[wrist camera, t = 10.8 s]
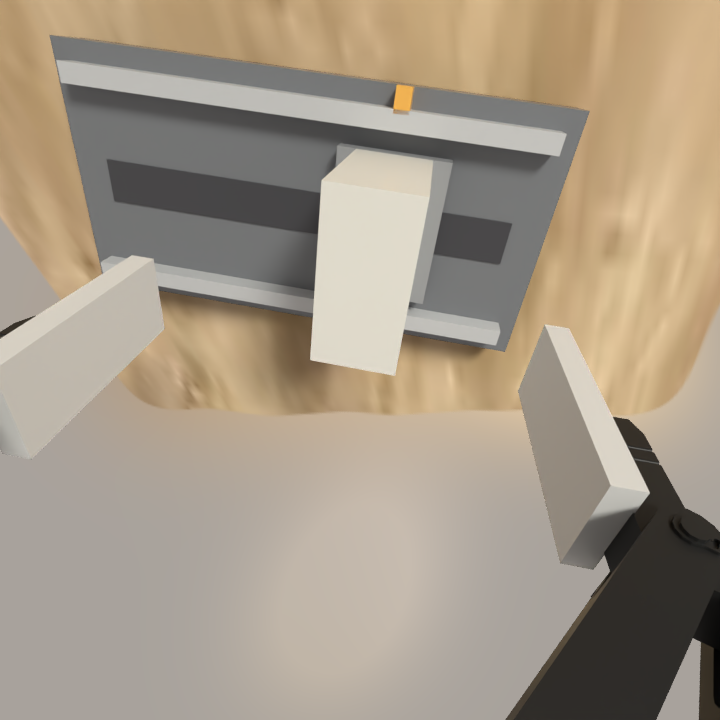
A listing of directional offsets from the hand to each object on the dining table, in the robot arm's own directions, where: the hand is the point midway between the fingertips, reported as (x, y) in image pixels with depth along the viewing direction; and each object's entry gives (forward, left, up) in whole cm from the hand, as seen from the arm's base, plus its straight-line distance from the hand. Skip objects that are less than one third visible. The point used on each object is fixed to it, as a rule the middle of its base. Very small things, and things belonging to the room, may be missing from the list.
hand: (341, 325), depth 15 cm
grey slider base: (-5, 0, -16) cm, 16 cm away
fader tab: (0, 0, -13) cm, 13 cm away
